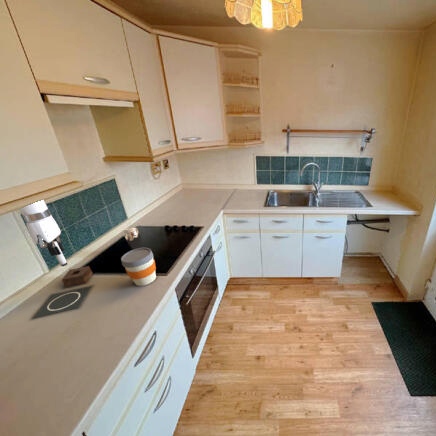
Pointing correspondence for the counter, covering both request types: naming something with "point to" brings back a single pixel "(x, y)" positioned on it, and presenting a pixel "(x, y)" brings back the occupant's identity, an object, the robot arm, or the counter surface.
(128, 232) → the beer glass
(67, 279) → the holder
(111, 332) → the counter surface
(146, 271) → the reusable coffee cup
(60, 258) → the marker
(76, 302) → the slate board
